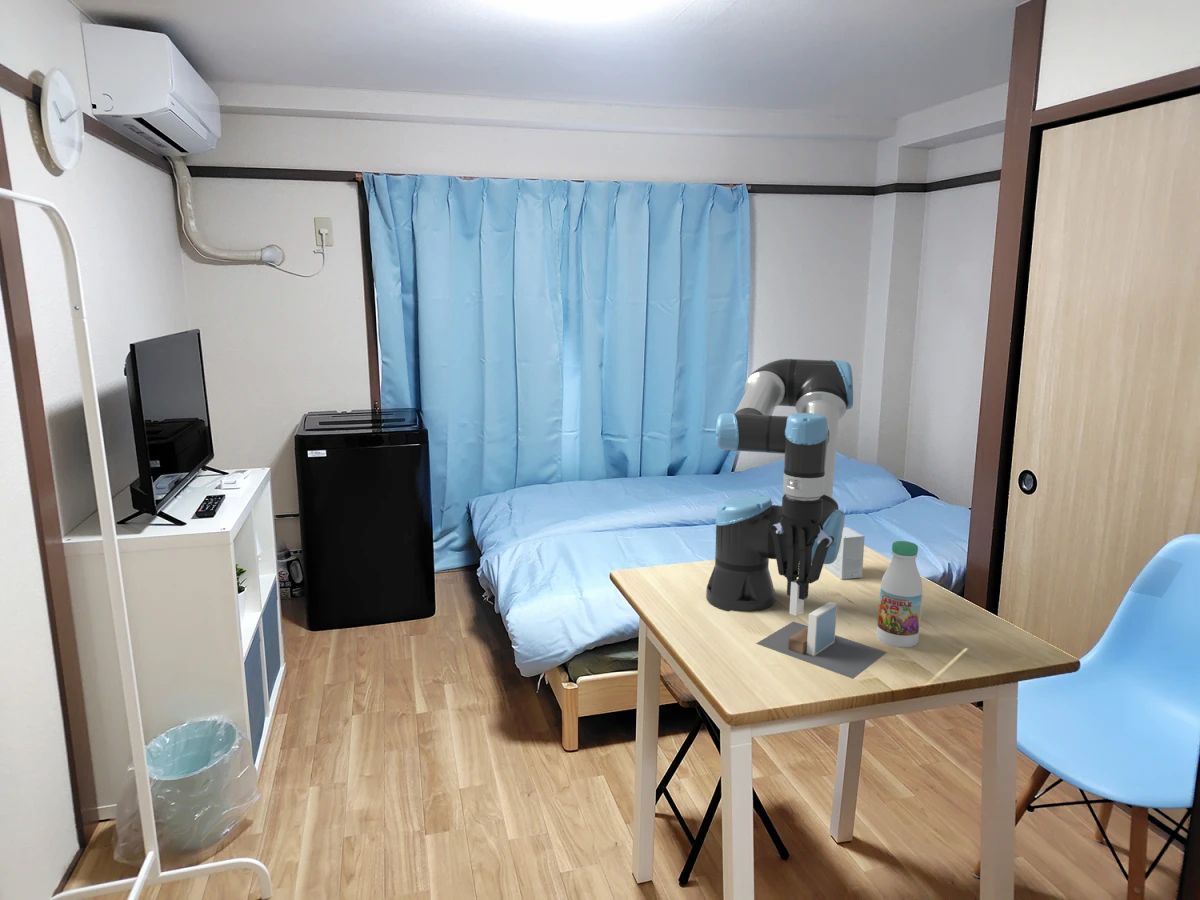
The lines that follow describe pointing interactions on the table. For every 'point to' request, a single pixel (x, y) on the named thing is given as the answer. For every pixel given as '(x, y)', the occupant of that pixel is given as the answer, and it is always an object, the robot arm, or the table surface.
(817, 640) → the tile
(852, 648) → the mat
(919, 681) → the table surface
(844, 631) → the table surface
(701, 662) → the table surface
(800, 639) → the block
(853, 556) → the small box
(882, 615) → the milk bottle
